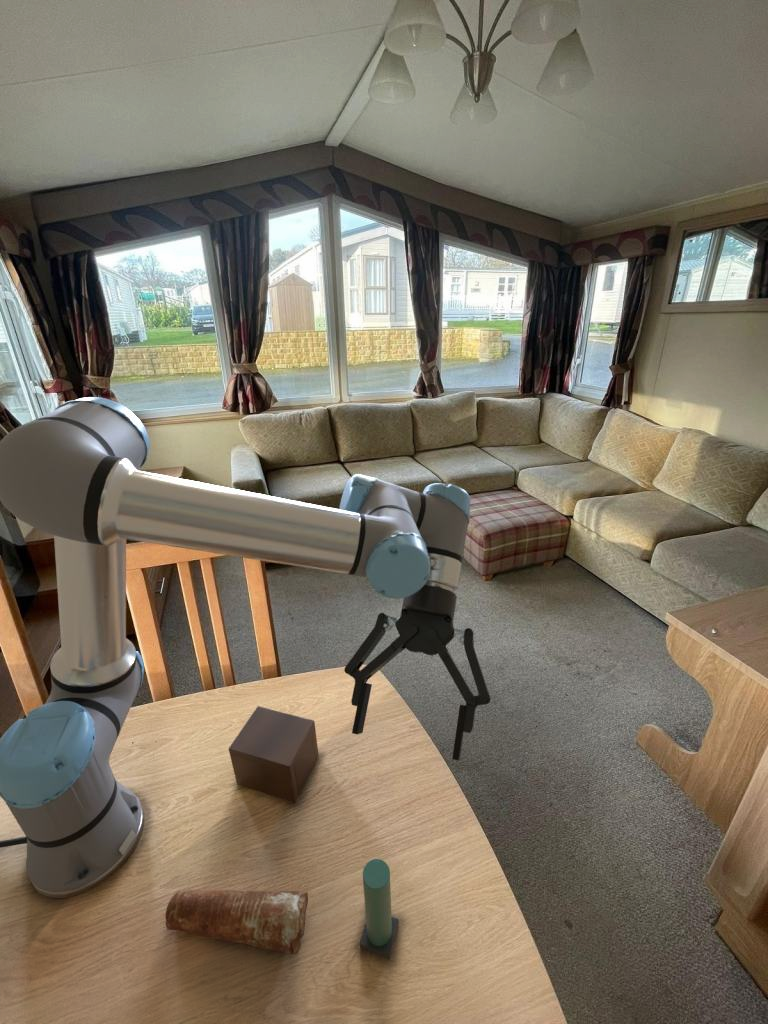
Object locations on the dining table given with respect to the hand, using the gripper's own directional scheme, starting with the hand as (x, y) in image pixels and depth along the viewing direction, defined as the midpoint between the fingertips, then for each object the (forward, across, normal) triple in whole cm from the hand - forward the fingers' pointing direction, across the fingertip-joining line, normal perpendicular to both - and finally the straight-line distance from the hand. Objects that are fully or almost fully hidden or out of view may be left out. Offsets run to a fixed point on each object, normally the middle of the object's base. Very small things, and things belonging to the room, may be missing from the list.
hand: (405, 745), depth 64 cm
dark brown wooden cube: (+11, -24, +18) cm, 32 cm away
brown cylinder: (+27, -18, +2) cm, 33 cm away
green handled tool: (+23, 0, +6) cm, 24 cm away
